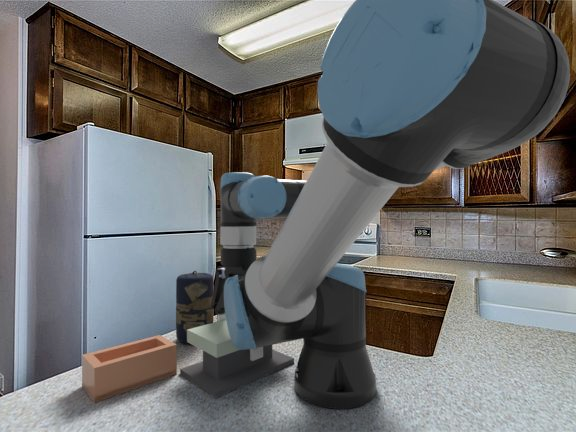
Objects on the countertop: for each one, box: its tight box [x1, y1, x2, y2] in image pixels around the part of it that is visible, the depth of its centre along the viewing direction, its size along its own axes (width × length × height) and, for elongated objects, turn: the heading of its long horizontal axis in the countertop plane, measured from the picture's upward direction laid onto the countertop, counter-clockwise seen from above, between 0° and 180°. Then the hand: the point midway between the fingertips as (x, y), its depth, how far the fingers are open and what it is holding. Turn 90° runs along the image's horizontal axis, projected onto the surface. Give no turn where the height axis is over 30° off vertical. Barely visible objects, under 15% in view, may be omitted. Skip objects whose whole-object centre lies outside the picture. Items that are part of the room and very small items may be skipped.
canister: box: [175, 270, 215, 344], centre depth 87 cm, size 10×10×18 cm
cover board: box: [187, 320, 240, 358], centre depth 70 cm, size 11×18×2 cm, turn 135°
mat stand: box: [179, 345, 295, 399], centre depth 70 cm, size 13×20×6 cm, turn 135°
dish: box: [81, 334, 178, 404], centre depth 65 cm, size 8×15×6 cm, turn 135°
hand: (239, 350), depth 70 cm, fingers closed on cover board, 11 cm apart
